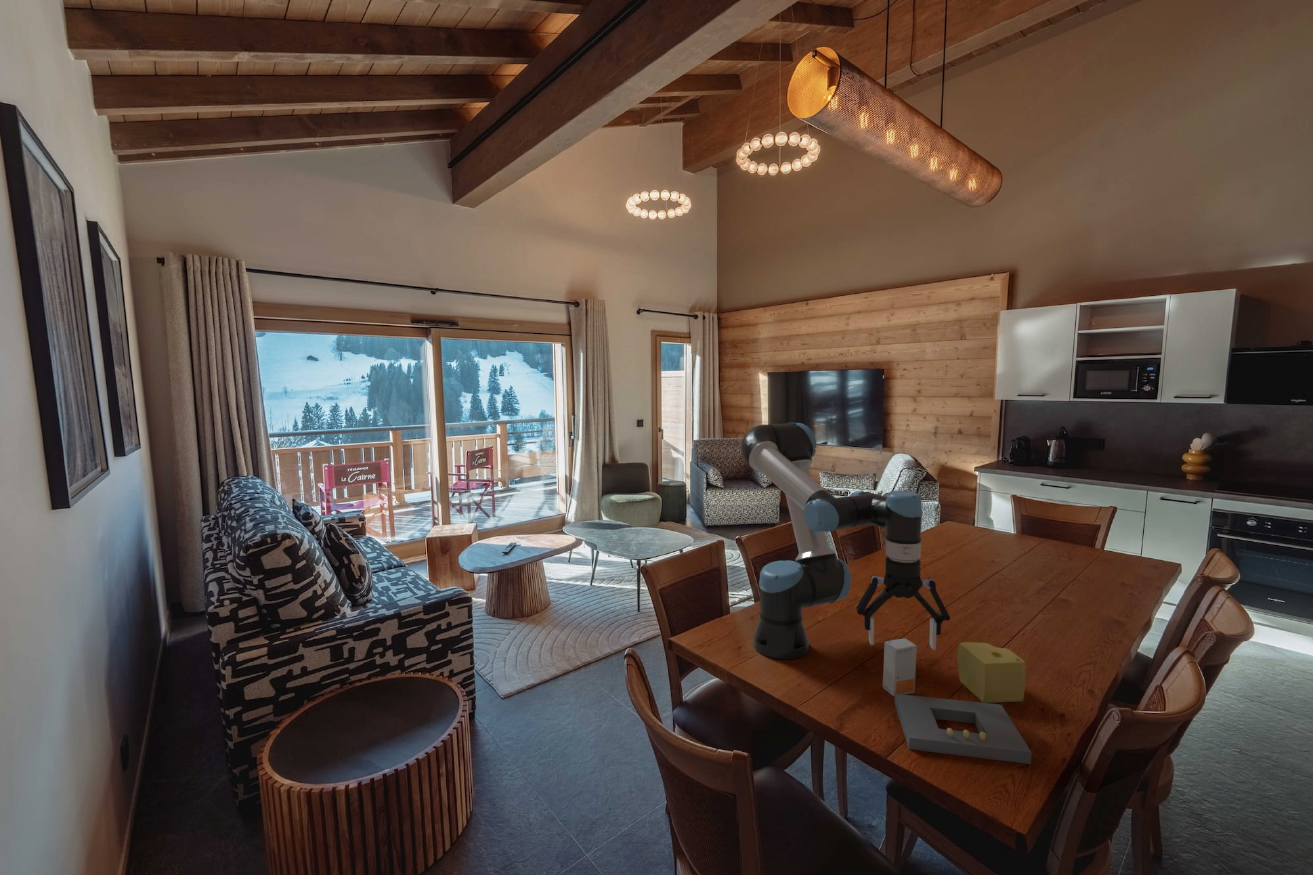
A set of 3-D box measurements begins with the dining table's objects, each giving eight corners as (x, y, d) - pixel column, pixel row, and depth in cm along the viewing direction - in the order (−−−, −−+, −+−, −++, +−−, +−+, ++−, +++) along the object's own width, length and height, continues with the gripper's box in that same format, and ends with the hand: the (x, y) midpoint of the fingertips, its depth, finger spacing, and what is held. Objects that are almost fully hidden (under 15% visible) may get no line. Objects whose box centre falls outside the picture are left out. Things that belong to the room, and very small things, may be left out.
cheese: (996, 678, 139) (998, 640, 138) (1026, 703, 128) (1029, 662, 127) (955, 679, 139) (957, 641, 138) (982, 705, 128) (984, 664, 127)
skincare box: (894, 697, 132) (895, 649, 130) (882, 688, 136) (883, 641, 134) (915, 693, 133) (917, 645, 132) (903, 683, 137) (904, 637, 136)
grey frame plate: (909, 749, 114) (909, 730, 113) (894, 703, 129) (895, 687, 129) (1030, 764, 109) (1032, 744, 108) (1000, 715, 124) (1001, 698, 124)
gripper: (848, 560, 130) (847, 647, 132) (966, 565, 124) (964, 656, 126) (845, 550, 137) (844, 633, 139) (956, 555, 132) (954, 641, 134)
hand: (901, 645), depth 133 cm, fingers open, 13 cm apart
